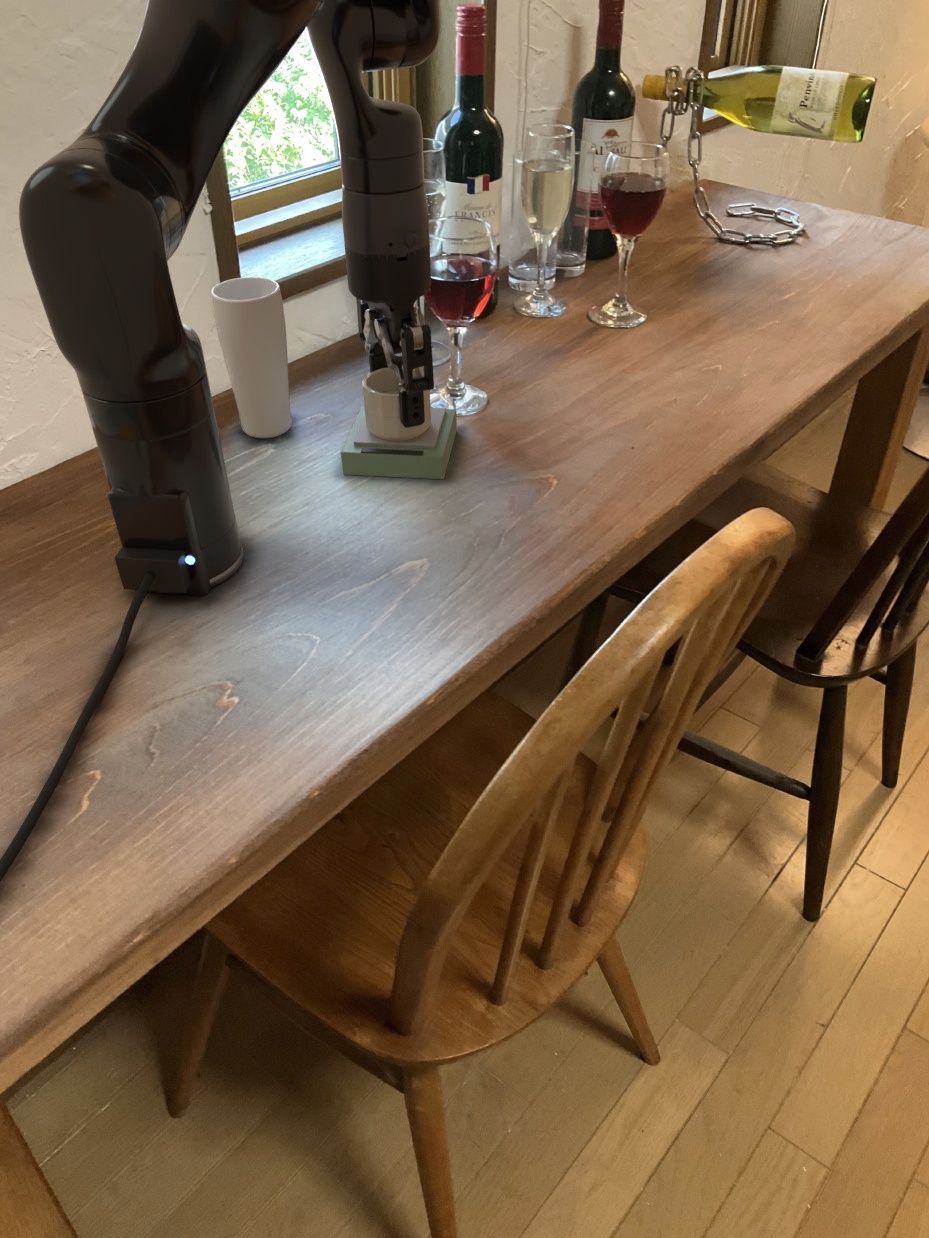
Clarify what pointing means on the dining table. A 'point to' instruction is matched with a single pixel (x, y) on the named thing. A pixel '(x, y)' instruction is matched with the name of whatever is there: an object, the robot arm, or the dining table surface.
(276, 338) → the drinking glass
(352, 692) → the dining table surface
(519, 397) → the dining table surface
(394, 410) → the beige cup
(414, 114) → the robot arm
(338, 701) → the dining table surface
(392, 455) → the scale
